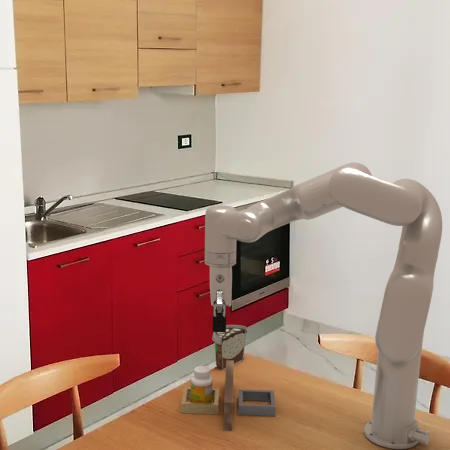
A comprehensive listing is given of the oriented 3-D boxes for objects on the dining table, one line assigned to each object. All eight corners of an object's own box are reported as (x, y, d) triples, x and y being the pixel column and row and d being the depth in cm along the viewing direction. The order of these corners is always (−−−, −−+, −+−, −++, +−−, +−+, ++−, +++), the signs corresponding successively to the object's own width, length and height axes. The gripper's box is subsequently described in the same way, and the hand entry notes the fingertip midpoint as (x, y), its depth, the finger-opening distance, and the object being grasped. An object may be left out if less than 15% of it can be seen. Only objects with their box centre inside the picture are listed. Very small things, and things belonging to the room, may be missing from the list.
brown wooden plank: (232, 385, 188) (233, 360, 187) (231, 430, 165) (233, 402, 163) (225, 384, 188) (226, 360, 187) (223, 430, 165) (224, 402, 163)
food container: (229, 353, 210) (231, 321, 207) (246, 358, 206) (247, 326, 204) (202, 365, 200) (203, 332, 198) (219, 371, 196) (220, 338, 194)
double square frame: (273, 399, 181) (274, 390, 180) (275, 416, 172) (275, 407, 172) (183, 396, 181) (183, 387, 181) (180, 412, 172) (181, 403, 172)
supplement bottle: (185, 405, 177) (186, 368, 174) (201, 398, 180) (202, 362, 178) (201, 412, 173) (202, 375, 171) (216, 405, 177) (217, 369, 175)
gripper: (236, 267, 162) (235, 337, 165) (235, 248, 178) (234, 313, 182) (203, 266, 162) (202, 337, 165) (205, 248, 178) (205, 312, 182)
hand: (219, 324), depth 174 cm, fingers open, 9 cm apart
